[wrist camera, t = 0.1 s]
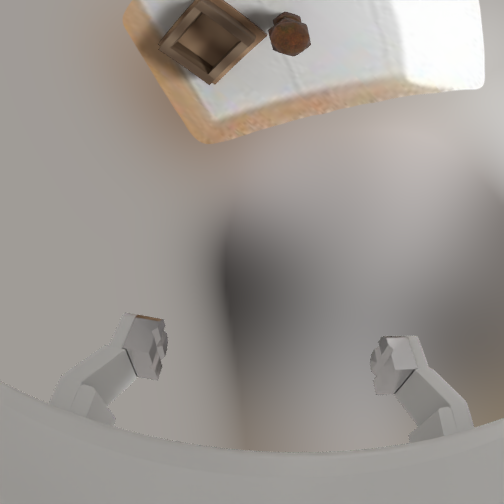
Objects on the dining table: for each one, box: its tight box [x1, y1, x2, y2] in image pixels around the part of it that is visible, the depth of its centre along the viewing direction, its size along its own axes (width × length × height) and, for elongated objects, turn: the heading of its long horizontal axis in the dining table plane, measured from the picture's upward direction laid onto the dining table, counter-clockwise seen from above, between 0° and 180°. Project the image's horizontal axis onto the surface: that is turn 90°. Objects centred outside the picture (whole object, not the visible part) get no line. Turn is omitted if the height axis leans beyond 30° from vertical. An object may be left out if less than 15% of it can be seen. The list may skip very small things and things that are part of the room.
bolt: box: [268, 12, 311, 56], centre depth 36 cm, size 6×5×15 cm
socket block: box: [158, 0, 267, 85], centre depth 42 cm, size 14×14×6 cm
